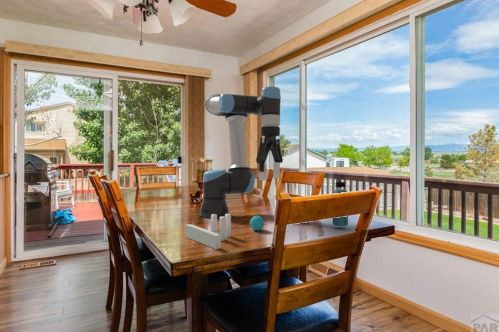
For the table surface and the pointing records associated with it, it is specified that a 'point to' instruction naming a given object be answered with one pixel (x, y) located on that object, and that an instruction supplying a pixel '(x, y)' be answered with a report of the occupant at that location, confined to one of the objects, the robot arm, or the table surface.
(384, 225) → the table surface
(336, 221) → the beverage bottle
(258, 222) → the ball
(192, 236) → the back stop
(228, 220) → the front pin
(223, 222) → the pin
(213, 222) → the pin
